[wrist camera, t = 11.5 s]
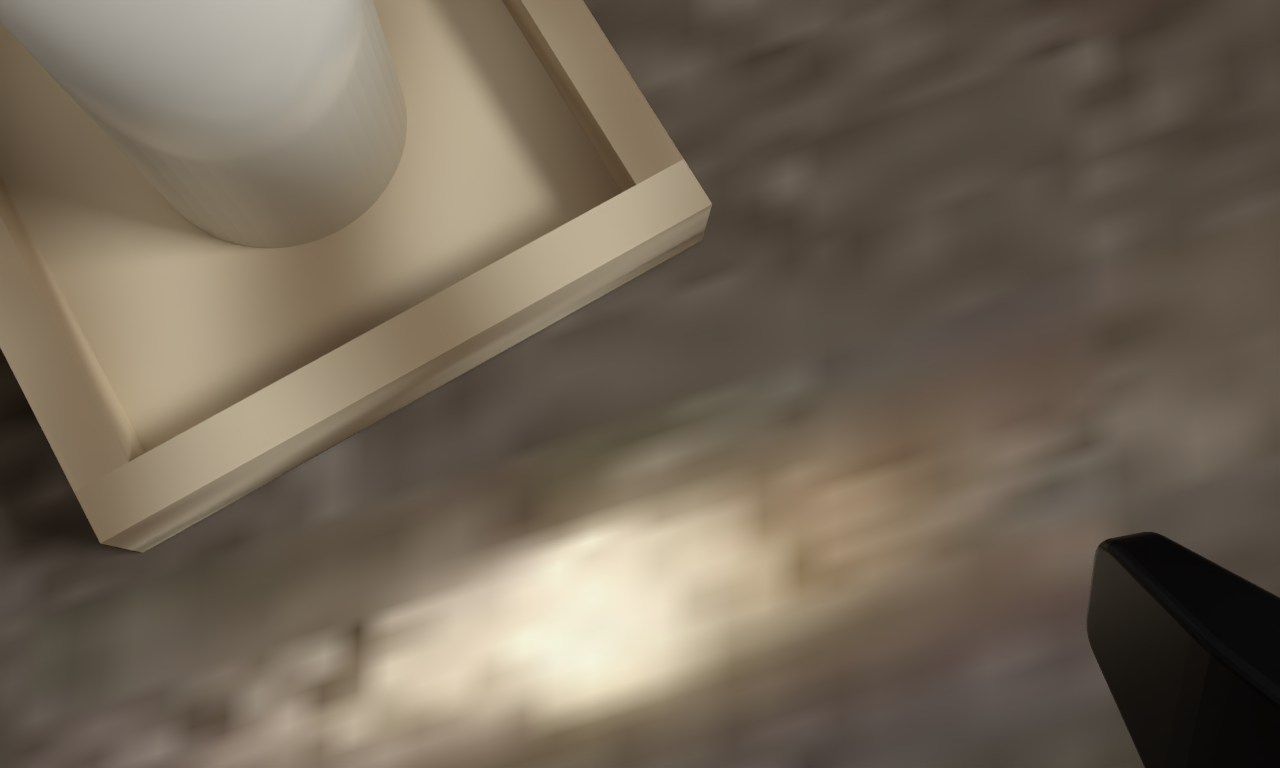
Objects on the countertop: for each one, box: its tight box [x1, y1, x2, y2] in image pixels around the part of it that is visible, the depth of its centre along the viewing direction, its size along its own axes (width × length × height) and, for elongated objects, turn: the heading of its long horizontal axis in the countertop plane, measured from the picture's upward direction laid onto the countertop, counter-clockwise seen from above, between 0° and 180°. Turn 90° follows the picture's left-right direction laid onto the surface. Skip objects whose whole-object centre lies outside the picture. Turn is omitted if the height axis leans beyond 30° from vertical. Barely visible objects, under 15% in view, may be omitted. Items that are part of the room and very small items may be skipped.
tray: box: [0, 0, 712, 553], centre depth 23 cm, size 12×12×2 cm
